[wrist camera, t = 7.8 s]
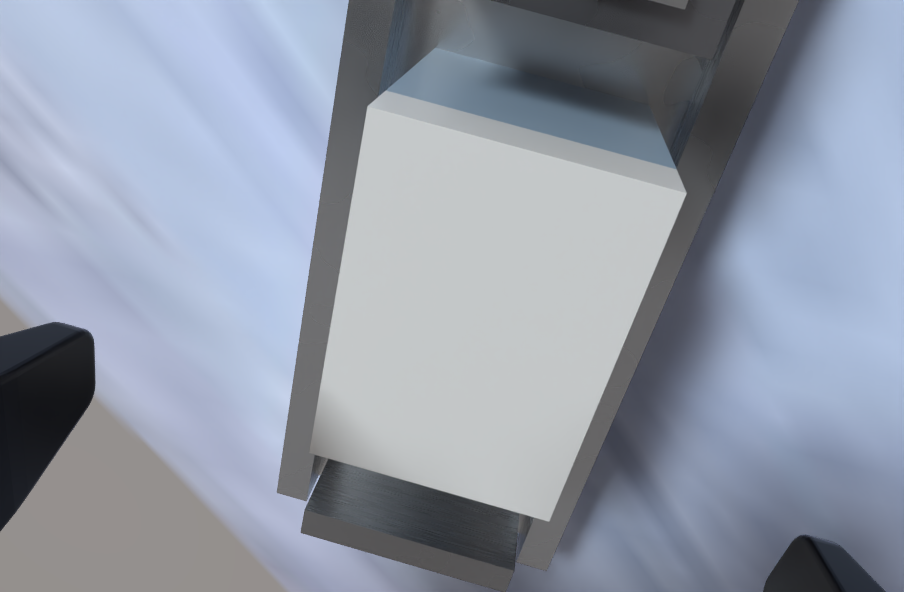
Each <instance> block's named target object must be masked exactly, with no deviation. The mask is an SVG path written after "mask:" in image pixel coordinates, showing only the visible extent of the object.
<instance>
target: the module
mask: <svg viewBox="0 0 904 592" xmlns="http://www.w3.org/2000/svg"><path fill="white" fill-rule="evenodd" d="M686 194H687V193H686V190H685V188H684V186H683V183H682V181H681V179H680V176H679V174H678V171H677V169H676V167H675V164H674V162H673V160H672V157H671V155H670V153H669V150H668V148H667V146H666V143H665V141H664V139H663V136H662V134H661V131H660V129H659V127H658V124H657V122H656V120H655V117H654V115H653V113H652V110H651V108H650V106H649V105H646V104H642V103H638V102H635V101H631V100H627V99H623V98H620V97H616V96H612V95H609V94H605V93H601V92H597V91H594V90H590V89H586V88H583V87H579V86H575V85H571V84H568V83H564V82H560V81H557V80H553V79H549V78H545V77H542V76H538V75H534V74H531V73H527V72H523V71H519V70H516V69H512V68H508V67H505V66H501V65H497V64H493V63H490V62H486V61H482V60H479V59H475V58H471V57H467V56H464V55H460V54H456V53H453V52H449V51H445V50H441V49H438V48H434V49H433V50H432V51H431V52H430V53H429V54H428V55H426V56H425V57H424V58H423V59H422V60H421V61H419V62H418V63H417V64H416V65H415V66H414V67H412V68H411V69H410V70H409V71H408V72H407V73H405V74H404V75H403V76H402V77H401V78H400V79H399V80H397V81H396V82H395V83H394V84H393V85H392V86H390V87H389V88H388V89H387V90H386V91H385V92H383V93H382V94H381V95H380V96H379V97H378V98H377V99H375V100H374V101H373V102H372V103H371V104H370V105H368V106H367V112H366V118H365V124H364V130H363V136H362V142H361V148H360V154H359V160H358V166H357V171H356V177H355V183H354V189H353V195H352V201H351V207H350V213H349V219H348V225H347V231H346V237H345V243H344V249H343V255H342V261H341V267H340V273H339V278H338V284H337V290H336V296H335V302H334V308H333V314H332V320H331V326H330V332H329V338H328V344H327V350H326V356H325V362H324V368H323V374H322V380H321V385H320V391H319V397H318V403H317V409H316V415H315V421H314V427H313V433H312V439H311V445H310V451H309V453H311V454H315V455H318V456H322V457H325V458H329V459H332V460H336V461H339V462H343V463H346V464H350V465H353V466H357V467H360V468H364V469H367V470H370V471H374V472H377V473H381V474H384V475H388V476H391V477H395V478H398V479H402V480H405V481H409V482H412V483H416V484H419V485H423V486H426V487H430V488H433V489H437V490H440V491H444V492H447V493H451V494H454V495H458V496H461V497H465V498H468V499H472V500H475V501H479V502H482V503H486V504H489V505H493V506H496V507H500V508H503V509H507V510H510V511H513V512H517V513H520V514H524V515H527V516H531V517H534V518H538V519H541V520H545V521H548V522H549V521H550V518H551V516H552V514H553V511H554V509H555V506H556V504H557V502H558V499H559V497H560V494H561V492H562V490H563V487H564V485H565V483H566V480H567V478H568V475H569V473H570V471H571V468H572V466H573V463H574V461H575V459H576V456H577V454H578V452H579V449H580V447H581V444H582V442H583V440H584V437H585V435H586V432H587V430H588V428H589V425H590V423H591V421H592V418H593V416H594V413H595V411H596V409H597V406H598V404H599V401H600V399H601V397H602V394H603V392H604V390H605V387H606V385H607V382H608V380H609V378H610V375H611V373H612V370H613V368H614V366H615V363H616V361H617V359H618V356H619V354H620V351H621V349H622V347H623V344H624V342H625V339H626V337H627V335H628V332H629V330H630V328H631V325H632V323H633V320H634V318H635V316H636V313H637V311H638V308H639V306H640V304H641V301H642V299H643V297H644V294H645V292H646V289H647V287H648V285H649V282H650V280H651V277H652V275H653V273H654V270H655V268H656V266H657V263H658V261H659V258H660V256H661V254H662V251H663V249H664V246H665V244H666V242H667V239H668V237H669V235H670V232H671V230H672V227H673V225H674V223H675V220H676V218H677V215H678V213H679V211H680V208H681V206H682V204H683V201H684V199H685V196H686Z"/></svg>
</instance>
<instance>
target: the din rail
mask: <svg viewBox="0 0 904 592" xmlns="http://www.w3.org/2000/svg"><path fill="white" fill-rule="evenodd" d="M798 2H799V0H349V4H348V10H347V17H346V24H345V31H344V38H343V45H342V51H341V58H340V65H339V72H338V79H337V85H336V92H335V99H334V106H333V113H332V120H331V126H330V133H329V140H328V147H327V154H326V160H325V167H324V174H323V181H322V188H321V195H320V201H319V208H318V215H317V222H316V229H315V235H314V242H313V249H312V256H311V263H310V270H309V276H308V283H307V290H306V297H305V304H304V310H303V317H302V324H301V331H300V338H299V345H298V351H297V358H296V365H295V372H294V379H293V385H292V392H291V399H290V406H289V413H288V420H287V426H286V433H285V440H284V447H283V454H282V460H281V467H280V474H279V481H278V488H277V493H280V494H283V495H287V496H290V497H293V498H297V499H300V500H304V501H307V499H308V497H309V495H310V493H311V491H312V488H313V486H314V484H315V482H316V480H317V478H318V476H319V475H321V476H320V478H319V480H318V482H317V484H316V487H315V489H314V491H313V493H312V495H311V497H310V500H309V502H308V504H307V506H306V508H305V511H304V517H303V522H302V528H301V533H303V534H307V535H310V536H313V537H317V538H320V539H324V540H327V541H330V542H334V543H337V544H341V545H344V546H348V547H351V548H354V549H358V550H361V551H365V552H368V553H372V554H375V555H378V556H382V557H385V558H389V559H392V560H396V561H399V562H402V563H406V564H409V565H413V566H416V567H420V568H423V569H426V570H430V571H433V572H437V573H440V574H444V575H447V576H450V577H454V578H457V579H461V580H464V581H468V582H471V583H474V584H478V585H481V586H485V587H488V588H492V589H495V590H498V591H502V592H506V590H507V587H508V585H509V582H510V580H511V578H512V575H513V573H514V568H515V557H516V546H517V535H518V533H519V538H518V549H517V560H516V562H517V563H521V564H524V565H527V566H531V567H534V568H538V569H541V570H545V571H547V569H548V567H549V564H550V562H551V560H552V558H553V555H554V553H555V551H556V548H557V546H558V544H559V542H560V539H561V537H562V535H563V533H564V530H565V528H566V526H567V524H568V521H569V519H570V517H571V515H572V512H573V510H574V508H575V506H576V503H577V501H578V499H579V496H580V494H581V492H582V490H583V487H584V485H585V483H586V481H587V478H588V476H589V474H590V472H591V469H592V467H593V465H594V463H595V460H596V458H597V456H598V454H599V451H600V449H601V447H602V445H603V442H604V440H605V438H606V435H607V433H608V431H609V429H610V426H611V424H612V422H613V420H614V417H615V415H616V413H617V411H618V408H619V406H620V404H621V402H622V399H623V397H624V395H625V393H626V390H627V388H628V386H629V383H630V381H631V379H632V377H633V374H634V372H635V370H636V368H637V365H638V363H639V361H640V359H641V356H642V354H643V352H644V350H645V347H646V345H647V343H648V341H649V338H650V336H651V334H652V332H653V329H654V327H655V325H656V322H657V320H658V318H659V316H660V313H661V311H662V309H663V307H664V304H665V302H666V300H667V298H668V295H669V293H670V291H671V289H672V286H673V284H674V282H675V280H676V277H677V275H678V273H679V270H680V268H681V266H682V264H683V261H684V259H685V257H686V255H687V252H688V250H689V248H690V246H691V243H692V241H693V239H694V237H695V234H696V232H697V230H698V228H699V225H700V223H701V221H702V219H703V216H704V214H705V212H706V209H707V207H708V205H709V203H710V200H711V198H712V196H713V194H714V191H715V189H716V187H717V185H718V182H719V180H720V178H721V176H722V173H723V171H724V169H725V167H726V164H727V162H728V160H729V157H730V155H731V153H732V151H733V148H734V146H735V144H736V142H737V139H738V137H739V135H740V133H741V130H742V128H743V126H744V124H745V121H746V119H747V117H748V115H749V112H750V110H751V108H752V106H753V103H754V101H755V99H756V96H757V94H758V92H759V90H760V87H761V85H762V83H763V81H764V78H765V76H766V74H767V72H768V69H769V67H770V65H771V63H772V60H773V58H774V56H775V54H776V51H777V49H778V47H779V44H780V42H781V40H782V38H783V35H784V33H785V31H786V29H787V26H788V24H789V22H790V20H791V17H792V15H793V13H794V11H795V8H796V6H797V4H798ZM434 48H438V49H441V50H445V51H449V52H453V53H456V54H460V55H464V56H467V57H471V58H475V59H479V60H482V61H486V62H490V63H493V64H497V65H501V66H505V67H508V68H512V69H516V70H519V71H523V72H527V73H531V74H534V75H538V76H542V77H545V78H549V79H553V80H557V81H560V82H564V83H568V84H571V85H575V86H579V87H583V88H586V89H590V90H594V91H597V92H601V93H605V94H609V95H612V96H616V97H620V98H623V99H627V100H631V101H635V102H638V103H642V104H646V105H649V106H650V108H651V110H652V113H653V115H654V117H655V120H656V122H657V124H658V127H659V129H660V131H661V134H662V136H663V139H664V141H665V143H666V146H667V148H668V150H669V153H670V155H671V157H672V160H673V162H674V164H675V167H676V169H677V171H678V174H679V176H680V179H681V181H682V183H683V186H684V188H685V190H686V193H687V194H686V196H685V199H684V201H683V204H682V206H681V208H680V211H679V213H678V215H677V218H676V220H675V223H674V225H673V227H672V230H671V232H670V235H669V237H668V239H667V242H666V244H665V246H664V249H663V251H662V254H661V256H660V258H659V261H658V263H657V266H656V268H655V270H654V273H653V275H652V277H651V280H650V282H649V285H648V287H647V289H646V292H645V294H644V297H643V299H642V301H641V304H640V306H639V308H638V311H637V313H636V316H635V318H634V320H633V323H632V325H631V328H630V330H629V332H628V335H627V337H626V339H625V342H624V344H623V347H622V349H621V351H620V354H619V356H618V359H617V361H616V363H615V366H614V368H613V370H612V373H611V375H610V378H609V380H608V382H607V385H606V387H605V390H604V392H603V394H602V397H601V399H600V401H599V404H598V406H597V409H596V411H595V413H594V416H593V418H592V421H591V423H590V425H589V428H588V430H587V432H586V435H585V437H584V440H583V442H582V444H581V447H580V449H579V452H578V454H577V456H576V459H575V461H574V463H573V466H572V468H571V471H570V473H569V475H568V478H567V480H566V483H565V485H564V487H563V490H562V492H561V494H560V497H559V499H558V502H557V504H556V506H555V509H554V511H553V514H552V516H551V518H550V521H549V522H548V521H545V520H541V519H538V518H534V517H531V516H527V515H524V514H520V513H517V512H513V511H510V510H507V509H503V508H500V507H496V506H493V505H489V504H486V503H482V502H479V501H475V500H472V499H468V498H465V497H461V496H458V495H454V494H451V493H447V492H444V491H440V490H437V489H433V488H430V487H426V486H423V485H419V484H416V483H412V482H409V481H405V480H402V479H398V478H395V477H391V476H388V475H384V474H381V473H377V472H374V471H370V470H367V469H364V468H360V467H357V466H353V465H350V464H346V463H343V462H339V461H336V460H332V459H329V458H325V457H322V456H318V455H315V454H311V453H309V451H310V445H311V439H312V433H313V427H314V421H315V415H316V409H317V403H318V397H319V391H320V385H321V380H322V374H323V368H324V362H325V356H326V350H327V344H328V338H329V332H330V326H331V320H332V314H333V308H334V302H335V296H336V290H337V284H338V278H339V273H340V267H341V261H342V255H343V249H344V243H345V237H346V231H347V225H348V219H349V213H350V207H351V201H352V195H353V189H354V183H355V177H356V171H357V166H358V160H359V154H360V148H361V142H362V136H363V130H364V124H365V118H366V112H367V106H368V105H370V104H371V103H372V102H373V101H374V100H375V99H377V98H378V97H379V96H380V95H381V94H382V93H383V92H385V91H386V90H387V89H388V88H389V87H390V86H392V85H393V84H394V83H395V82H396V81H397V80H399V79H400V78H401V77H402V76H403V75H404V74H405V73H407V72H408V71H409V70H410V69H411V68H412V67H414V66H415V65H416V64H417V63H418V62H419V61H421V60H422V59H423V58H424V57H425V56H426V55H428V54H429V53H430V52H431V51H432V50H433V49H434Z"/></svg>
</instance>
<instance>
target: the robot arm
mask: <svg viewBox="0 0 904 592" xmlns="http://www.w3.org/2000/svg"><path fill="white" fill-rule="evenodd" d="M94 391H95V351H94V339H93V336H92V334H91V333H90V332H89V331H87V330H86V329H82V328H79V327H75V326H72V325H68V324H65V323H60V322H52V323H48V324H44V325H40V326H37V327H33V328H30V329H26V330H22V331H19V332H15V333H11V334H8V335H4V336H0V531H1V530H2V529H3V527H4V526H5V525H6V524H7V523H8V521H9V520H10V519H11V518H12V516H13V515H14V514H15V513H16V511H17V510H18V508H19V507H20V506H21V504H22V503H23V501H24V500H25V499H26V497H27V496H28V494H29V493H30V492H31V490H32V489H33V487H34V486H35V484H36V483H37V481H38V480H39V478H40V477H41V475H42V474H43V472H44V471H45V469H46V468H47V467H48V465H49V464H50V462H51V461H52V459H53V458H54V456H55V455H56V453H57V452H58V450H59V449H60V448H61V446H62V445H63V443H64V442H65V440H66V439H67V437H68V436H69V434H70V433H71V431H72V430H73V428H74V427H75V425H76V424H77V423H78V421H79V420H80V418H81V417H82V415H83V414H84V412H85V411H86V409H87V408H88V406H89V405H90V403H91V400H92V398H93V395H94ZM763 592H885V591H884V590H883V588H882V587H881V586H880V585H879V584H878V583H877V582H876V581H875V580H874V579H873V578H872V577H871V576H870V575H869V574H868V573H867V572H866V571H865V570H864V569H863V568H862V567H861V566H860V565H859V564H858V563H857V562H856V561H855V560H854V559H853V558H852V557H851V556H850V555H849V554H848V553H847V552H846V551H845V550H844V549H843V548H842V547H841V546H840V545H838V544H836V543H834V542H831V541H827V540H824V539H820V538H817V537H813V536H810V535H800V536H798V537H797V538H795V539H794V540H793V541H792V543H791V544H790V546H789V547H788V549H787V550H786V552H785V553H784V554H783V556H782V557H781V559H780V560H779V562H778V563H777V565H776V566H775V568H774V569H773V571H772V572H771V574H770V575H769V577H768V579H767V580H766V583H765V586H764V590H763Z"/></svg>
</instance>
